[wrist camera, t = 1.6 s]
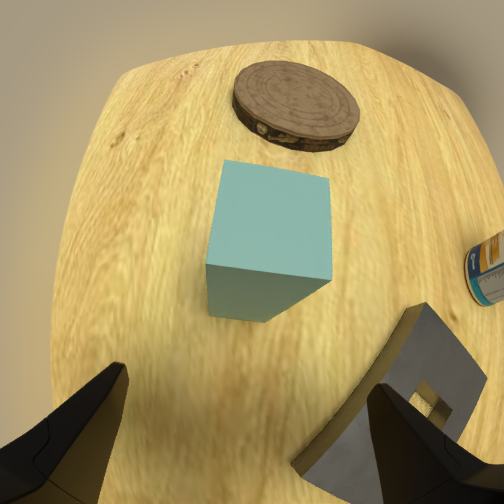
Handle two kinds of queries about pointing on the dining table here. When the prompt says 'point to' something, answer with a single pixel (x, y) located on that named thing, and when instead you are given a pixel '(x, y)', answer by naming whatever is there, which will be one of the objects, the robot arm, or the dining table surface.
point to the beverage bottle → (486, 270)
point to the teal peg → (267, 241)
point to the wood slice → (295, 106)
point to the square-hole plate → (405, 383)
